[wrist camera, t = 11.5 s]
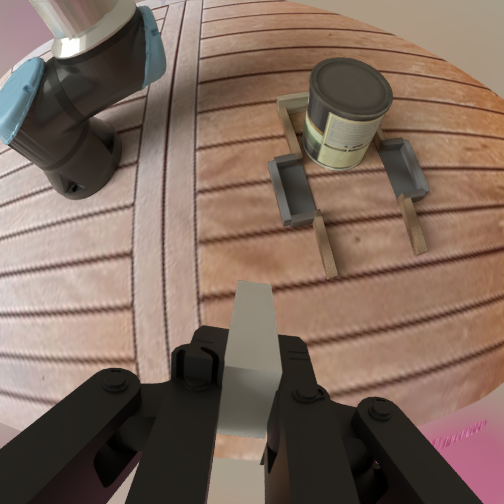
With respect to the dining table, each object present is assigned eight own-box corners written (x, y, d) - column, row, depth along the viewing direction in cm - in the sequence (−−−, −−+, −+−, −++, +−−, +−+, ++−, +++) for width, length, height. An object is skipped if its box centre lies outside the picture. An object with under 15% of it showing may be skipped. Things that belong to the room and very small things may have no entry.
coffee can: (288, 145, 44) (292, 84, 30) (324, 108, 45) (337, 47, 31) (343, 184, 42) (370, 132, 28) (376, 142, 43) (405, 87, 29)
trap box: (440, 248, 39) (453, 242, 35) (298, 286, 39) (301, 283, 35) (378, 99, 45) (384, 85, 41) (253, 116, 45) (251, 100, 41)
